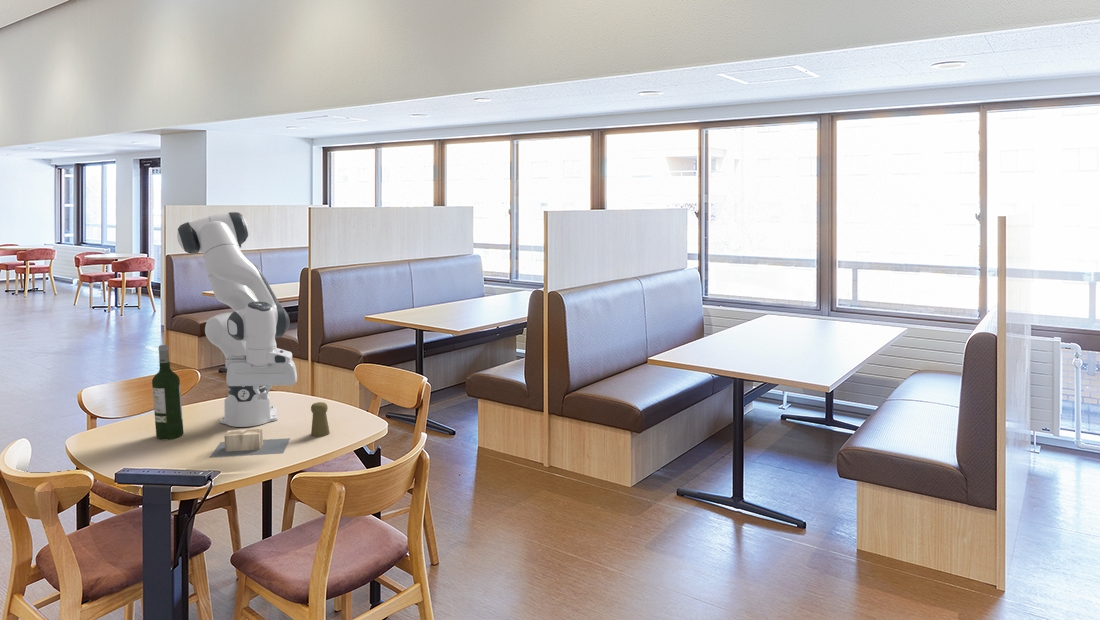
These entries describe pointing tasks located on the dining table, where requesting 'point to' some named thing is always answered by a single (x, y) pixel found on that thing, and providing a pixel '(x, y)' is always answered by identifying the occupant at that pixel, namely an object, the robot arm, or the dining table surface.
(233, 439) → the pine block
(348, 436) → the dining table surface
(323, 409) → the cork
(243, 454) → the rubber mat
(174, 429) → the wine bottle
